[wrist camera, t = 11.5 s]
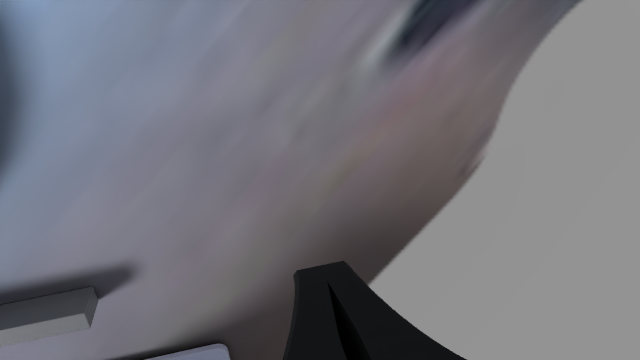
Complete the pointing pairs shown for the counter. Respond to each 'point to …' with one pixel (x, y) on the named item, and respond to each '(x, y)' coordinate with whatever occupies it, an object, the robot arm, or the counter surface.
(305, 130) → the counter surface
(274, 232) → the counter surface
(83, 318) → the tray frame
